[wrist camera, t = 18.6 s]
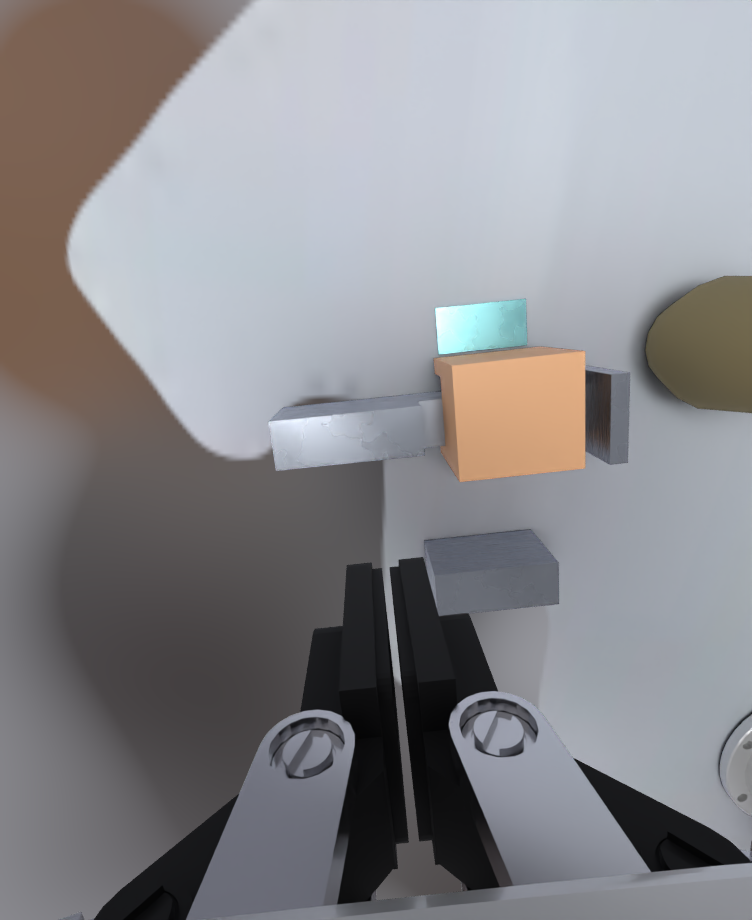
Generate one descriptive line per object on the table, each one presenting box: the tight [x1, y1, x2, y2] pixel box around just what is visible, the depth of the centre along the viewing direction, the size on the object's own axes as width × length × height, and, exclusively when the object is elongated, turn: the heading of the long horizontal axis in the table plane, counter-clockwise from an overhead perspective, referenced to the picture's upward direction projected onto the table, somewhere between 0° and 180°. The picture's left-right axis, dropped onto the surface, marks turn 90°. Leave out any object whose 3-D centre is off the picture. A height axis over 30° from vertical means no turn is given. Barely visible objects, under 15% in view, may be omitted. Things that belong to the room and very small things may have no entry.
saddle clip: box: [434, 347, 585, 482], centre depth 30 cm, size 6×7×7 cm
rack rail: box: [268, 299, 630, 471], centre depth 31 cm, size 10×20×8 cm, turn 96°
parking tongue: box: [424, 529, 559, 616], centre depth 35 cm, size 3×8×6 cm, turn 96°
